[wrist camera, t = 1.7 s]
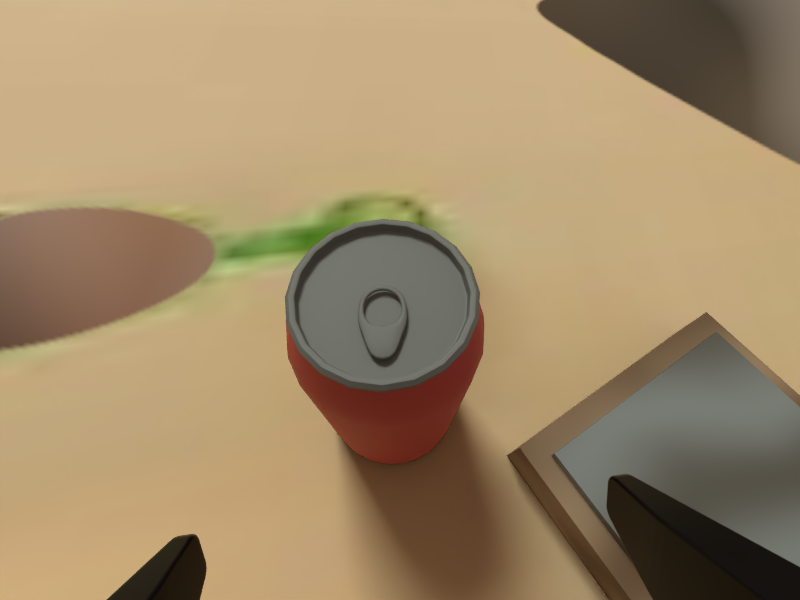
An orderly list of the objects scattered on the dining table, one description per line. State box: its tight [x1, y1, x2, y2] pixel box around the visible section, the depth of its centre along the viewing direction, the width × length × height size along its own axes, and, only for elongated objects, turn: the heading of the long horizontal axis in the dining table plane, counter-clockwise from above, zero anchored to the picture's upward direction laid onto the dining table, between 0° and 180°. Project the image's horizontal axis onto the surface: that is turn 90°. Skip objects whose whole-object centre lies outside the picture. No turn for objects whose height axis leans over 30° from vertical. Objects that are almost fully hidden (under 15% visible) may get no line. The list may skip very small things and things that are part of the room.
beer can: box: [285, 219, 484, 464], centre depth 17 cm, size 7×7×12 cm
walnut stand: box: [507, 312, 800, 600], centre depth 18 cm, size 13×13×3 cm
